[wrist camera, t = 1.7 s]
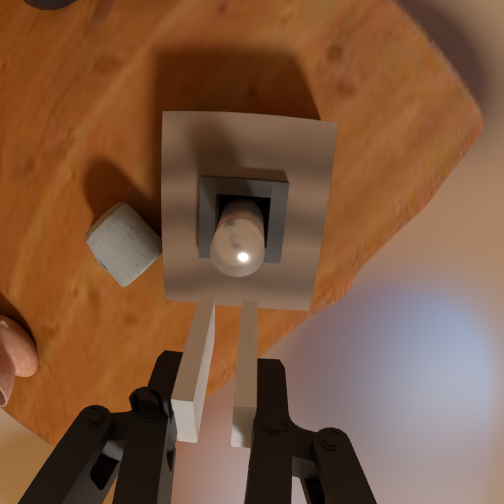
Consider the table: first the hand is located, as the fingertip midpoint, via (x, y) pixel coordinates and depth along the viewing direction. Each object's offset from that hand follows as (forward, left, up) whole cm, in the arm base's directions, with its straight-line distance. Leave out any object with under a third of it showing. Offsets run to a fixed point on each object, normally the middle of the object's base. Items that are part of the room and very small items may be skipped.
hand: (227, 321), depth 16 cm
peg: (0, 0, -17) cm, 17 cm away
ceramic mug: (+7, -15, -25) cm, 30 cm away
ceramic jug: (+30, -44, -25) cm, 59 cm away
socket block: (0, 0, -24) cm, 24 cm away
